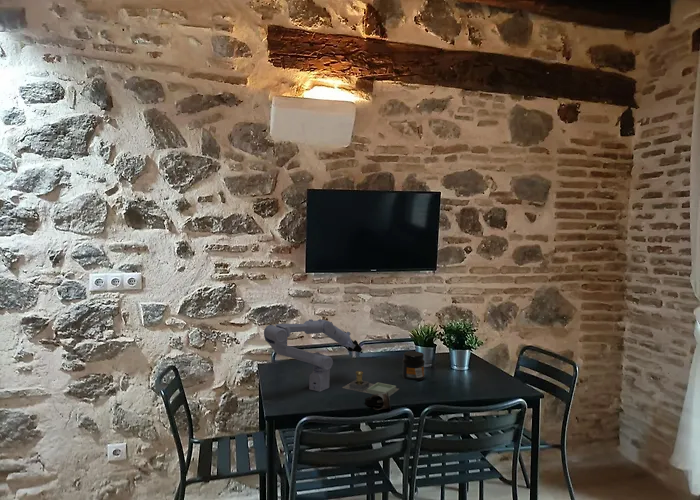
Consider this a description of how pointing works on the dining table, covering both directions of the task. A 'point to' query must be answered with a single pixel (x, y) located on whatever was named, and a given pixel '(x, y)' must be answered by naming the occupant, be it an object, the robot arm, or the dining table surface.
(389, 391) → the tray
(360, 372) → the lock pin
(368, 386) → the plate
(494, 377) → the dining table surface
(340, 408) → the dining table surface
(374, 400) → the caster wheel
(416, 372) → the supplement container
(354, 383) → the tensioner collar
